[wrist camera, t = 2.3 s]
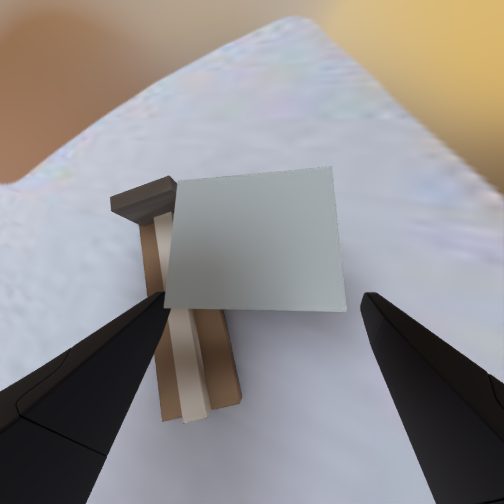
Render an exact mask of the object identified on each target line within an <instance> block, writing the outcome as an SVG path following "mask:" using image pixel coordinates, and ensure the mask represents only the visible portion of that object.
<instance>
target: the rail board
mask: <svg viewBox="0 0 504 504" xmlns="http://www.w3.org/2000/svg"><path fill="white" fill-rule="evenodd" d="M176 193H177V183H176V182H175V181H174V180H173V179H172V178H171V177H170V176H167V177H164V178H161V179H158V180H156V181H153V182H150V183H147V184H145V185H142V186H139V187H136V188H134V189H131V190H128V191H125V192H123V193H120V194H117V195H114V196H112V197H110V202H111V211H112V212H114V213H116V214H118V215H120V216H122V217H124V218H126V219H128V220H130V221H132V222H135V223H137V224H139V229H140V237H141V246H142V254H143V263H144V271H145V279H146V288H147V296H148V297H149V296H151V295H152V294H154V293H155V292H157V291H166V283H167V274H168V265H169V256H170V247H171V238H172V229H173V220H174V211H175V202H176ZM154 355H155V363H156V372H157V380H158V389H159V397H160V405H161V414H162V422H163V421H168V420H172V419H176V418H180V417H182V418H183V423H187V422H192V421H196V420H200V419H204V418H207V417H208V415H209V413H210V412H211V410H214V409H218V408H223V407H227V406H231V405H235V404H239V403H240V401H241V399H242V393H241V389H240V384H239V380H238V375H237V371H236V366H235V362H234V357H233V353H232V348H231V344H230V339H229V335H228V330H227V326H226V321H225V317H224V312H223V309H183V308H171V311H170V314H169V317H168V320H167V323H166V326H165V329H164V332H163V334H162V337H161V339H160V342H159V344H158V346H157V348H156V350H155V353H154Z"/></svg>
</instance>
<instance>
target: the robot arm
mask: <svg viewBox="0 0 504 504" xmlns="http://www.w3.org/2000/svg"><path fill="white" fill-rule="evenodd" d="M165 292H166V291H157V292H155V293H154V294H152V295H151V296H149V297H147V298H146V299H144V300H143V301H141V302H140V303H138V304H137V305H135V306H134V307H132V308H131V309H129V310H128V311H126V312H125V313H123V314H122V315H120V316H119V317H117V318H115V319H114V320H112V321H111V322H109V323H108V324H106V325H105V326H103V327H102V328H100V329H99V330H97V331H96V332H94V333H93V334H91V335H90V336H88V337H86V338H85V339H83V340H82V341H80V342H79V343H77V344H76V345H74V346H73V347H72V348H70V349H68V350H67V351H65V352H64V353H62V354H61V355H59V356H57V357H56V358H54V359H53V360H51V361H50V362H48V363H46V364H45V365H43V366H42V367H40V368H38V369H37V370H35V371H34V372H32V373H30V374H29V375H27V376H25V377H24V378H22V379H20V380H19V381H17V382H15V383H14V384H12V385H10V386H9V387H7V388H5V389H4V390H2V391H0V504H86V502H87V500H88V498H89V495H90V493H91V491H92V489H93V487H94V484H95V482H96V480H97V478H98V476H99V474H100V471H101V469H102V467H103V465H104V463H105V460H106V458H107V455H108V453H109V451H110V449H111V447H112V445H113V442H114V440H115V438H116V436H117V434H118V432H119V429H120V427H121V425H122V423H123V421H124V418H125V416H126V414H127V412H128V410H129V407H130V405H131V403H132V401H133V399H134V396H135V394H136V392H137V390H138V388H139V385H140V383H141V381H142V379H143V377H144V374H145V372H146V370H147V368H148V366H149V364H150V361H151V359H152V357H153V355H154V353H155V350H156V348H157V346H158V344H159V342H160V339H161V337H162V334H163V332H164V329H165V326H166V323H167V320H168V317H169V314H170V311H171V308H164V301H165ZM360 310H361V314H362V318H363V321H364V324H365V328H366V331H367V335H368V338H369V341H370V345H371V348H372V350H373V353H374V355H375V358H376V360H377V363H378V365H379V367H380V370H381V372H382V375H383V377H384V379H385V382H386V384H387V387H388V389H389V391H390V394H391V396H392V399H393V401H394V404H395V406H396V408H397V411H398V413H399V416H400V418H401V420H402V423H403V425H404V428H405V430H406V432H407V435H408V437H409V440H410V442H411V445H412V447H413V449H414V452H415V454H416V457H417V459H418V461H419V464H420V466H421V469H422V471H423V473H424V476H425V478H426V481H427V483H428V486H429V488H430V490H431V493H432V495H433V498H434V500H435V502H436V504H504V383H502V382H501V381H499V380H498V379H497V378H495V377H494V376H492V375H491V374H488V373H487V371H485V370H484V369H482V368H481V367H480V366H478V365H477V364H476V363H474V362H473V361H471V360H470V359H469V358H467V357H466V356H464V355H463V354H462V353H460V352H459V351H457V350H456V349H455V348H453V347H452V346H450V345H449V344H448V343H446V342H445V341H443V340H442V339H441V338H439V337H438V336H436V335H435V334H434V333H432V332H431V331H430V330H428V329H427V328H425V327H424V326H423V325H421V324H420V323H418V322H417V321H416V320H414V319H413V318H411V317H410V316H409V315H407V314H406V313H404V312H403V311H402V310H400V309H399V308H397V307H396V306H395V305H393V304H392V303H390V302H389V301H388V300H386V299H385V298H384V297H382V296H381V295H379V294H378V293H376V292H366V293H364V295H363V299H362V302H361V305H360Z"/></svg>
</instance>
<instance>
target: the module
mask: <svg viewBox="0 0 504 504" xmlns="http://www.w3.org/2000/svg"><path fill="white" fill-rule="evenodd" d="M164 308H183V309H230V310H278V311H325V312H347V305H346V296H345V286H344V277H343V267H342V258H341V248H340V238H339V229H338V219H337V210H336V200H335V191H334V181H333V172H332V166H331V167H321V168H310V169H299V170H289V171H278V172H268V173H257V174H247V175H236V176H226V177H215V178H204V179H194V180H183V181H178V184H177V193H176V202H175V211H174V220H173V229H172V238H171V247H170V256H169V265H168V274H167V283H166V292H165V301H164Z"/></svg>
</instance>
